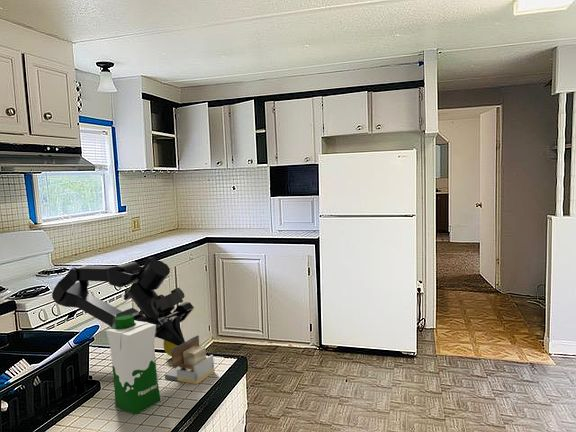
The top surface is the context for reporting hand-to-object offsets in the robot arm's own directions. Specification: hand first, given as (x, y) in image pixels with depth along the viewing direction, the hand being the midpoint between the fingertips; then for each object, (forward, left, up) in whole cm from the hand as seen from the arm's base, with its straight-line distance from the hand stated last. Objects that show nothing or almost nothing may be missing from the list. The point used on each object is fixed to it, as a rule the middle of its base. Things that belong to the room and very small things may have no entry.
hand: (183, 345), depth 116 cm
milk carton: (-4, -16, -8) cm, 18 cm away
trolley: (+3, -1, -6) cm, 7 cm away
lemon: (-9, +10, -8) cm, 15 cm away
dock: (+1, 0, -8) cm, 8 cm away
